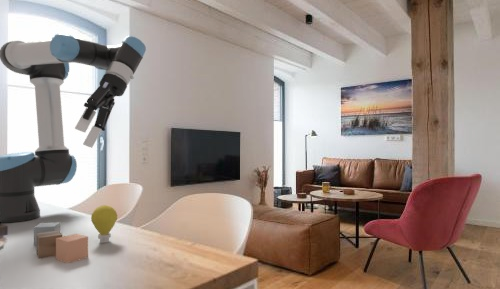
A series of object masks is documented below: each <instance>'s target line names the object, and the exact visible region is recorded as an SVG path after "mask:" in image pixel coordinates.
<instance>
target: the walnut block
mask: <svg viewBox="0 0 500 289" xmlns="http://www.w3.org/2000/svg"><path fill="white" fill-rule="evenodd" d="M60 237H63V234H62V232H61V230H60V231H59V230H58V231H51V232H43V233H36V246H35V247H36V255H37V258H38V259H44V258H51V257H56V238H60Z"/></svg>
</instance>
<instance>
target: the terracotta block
mask: <svg viewBox="0 0 500 289" xmlns="http://www.w3.org/2000/svg"><path fill="white" fill-rule="evenodd" d="M85 257H87V258H89V236H87V235H83V234H81V233H74V234H69V235H66V236H62V237H60V238H56V256H55V260H58V261H61V262H63V263H65V264H70V263H74V262H76V260H77V261H79V259H80V260H83V259H86V258H85ZM82 258H83V259H82Z"/></svg>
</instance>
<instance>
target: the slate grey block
mask: <svg viewBox="0 0 500 289" xmlns="http://www.w3.org/2000/svg"><path fill="white" fill-rule="evenodd" d="M58 230H59V231H60V232H61V221H59V222H58V221H57V222H40V223H38V224H37V225H35V226H34V227H33V247H36V233H43V232H51V231H58Z"/></svg>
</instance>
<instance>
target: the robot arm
mask: <svg viewBox="0 0 500 289" xmlns="http://www.w3.org/2000/svg"><path fill="white" fill-rule="evenodd" d="M146 48H147V47H146V45H145V43H143V41H142V40H141V39H140V38H138V37H135V36H132V35H128V36H126V37H125V38H124V39H123V40H122V42H121V44H117V45H106V44H102V43H98V42H94V41H90V40H86V39H82V38H79V37H75V36H73V35H71V34H70V35H69V34H63V33H57V34H56V33H55V35H54V36H52V38H51V39H46V40H38V41H31V42H30V41H29V42H25V41H21V40H14V41H13V40H12V41H7V42H6V43H4V44H3V45H2V46H1V47H0V61H1V63H2V64H3V66H4V67H5V68H7V69H8V70H10V71H11V72H14V73H15V74H19V75H24V76H29V83H31V84H32V85H33V86H34V91H35V92H34V94H35V107H36V109H35V110H36V120H37V121H36V122H37V134H38V136H37V137H38V147H37V149H36V150H34V151H23V152H21V151H20V152H15V153H14V152H12V153H8V154H6V153H5V154H3V155H0V222H1V223H0V224H3V223H5V224H8V223H17V222H25V221H30V220H33V219H38V218H39V217H40V216H41V209H40V206H39V204H38V201H37V198H36V195H35V187H44V186H54V185H57V186H58V185H61V184H68V183H69V182H70V181H71V180H73V178H74V177H75V175H76V172H77V167H78V165H77V160H76V158H75V156H74V155H73V154H71V153H70V151H69V150H70V149H69V148H68V147H67V146H65V140H64V139H65V137H64V126H63V125H64V124H63V112H62V111H63V110H62V98H61V86H62V85H63V84H64V81H65V80H66V79H67V78H68V77H69V72H70V63H76V64H83V65H87V66H91V67H94V68H95V69H97V70H101V71H102V70H104V74H103V75H102V78H101V79H100V81H99V84H98V87H97V88H96V89H95V90H94V92H93V93H92V94H90V96H89V97H88V98H87V99H86V102H85V103H84V104H83V107H85V110H84V111H83V113H82V115H80V118H79V120H78V122H77V124H76V125H75V127H74V129H75V130H77V131H80V132H82V133H86V132H87V131H88V129H89V126H90V125H91V123H92V121H93V119H94V118H95V116H96V118H95V122H94V125H92V127H91V129H90V130H89V133H88V134H87V135H86V137H85V139H84V142H83V146H86V147H88V148H93V147H94V146H95V143H96V141H97V140H98V137H99V135H100V134H101V132H102V131H103V132H105V131H106V127H107V126H106V125H107V124H108V120H109V119H110V115H111V112H112V110H113V108H114V106H115V103H116V102H115V97H122V96H124V94H125V92H126V89H127V87H128V85H129V84H130V82H131V80H134V78H135V77H134V74H135V73H136V70H137V69H138V67H139V65H140V63H141V62H142V60H143V58H144V55H145V53H146V50H147V49H146ZM97 110H98V112H97ZM96 114H97V115H96Z"/></svg>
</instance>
